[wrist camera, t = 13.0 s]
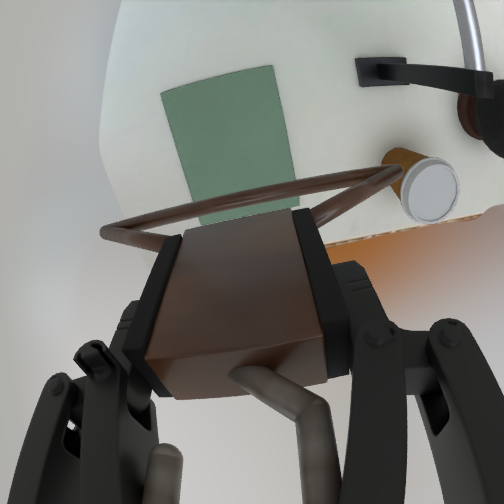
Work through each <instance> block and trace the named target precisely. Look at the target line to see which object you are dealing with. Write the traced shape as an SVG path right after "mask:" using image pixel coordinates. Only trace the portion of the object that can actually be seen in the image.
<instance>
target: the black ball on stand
mask: <svg viewBox="0 0 504 504" xmlns="http://www.w3.org/2000/svg"><path fill="white" fill-rule="evenodd" d="M493 83H494V98H480V97H474V96H470V95H466V94H462V93H460V94H459V97H458V107H457V109H458V116H459V120H460V123H461V125H462V127H463V128H464V130H465V131H466V132H467V134H469V135H470V136H471V137H473V138H476V139H478V140H483V141H484V143H485V144H486V145H487V146H488V147H489V149H490V150H491V151H493V152H494V153H495V154H496V155H498V156H499V157H501V158H504V80H496V81H493Z"/></svg>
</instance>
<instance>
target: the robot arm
mask: <svg viewBox="0 0 504 504" xmlns="http://www.w3.org/2000/svg"><path fill="white" fill-rule="evenodd" d="M292 215H293V219H294V222H295V226H296V229H297V233H298V236H299V240H300V244H301V247H302V251H303V255H304V259H305V262H306V266H307V270H308V274H309V278H310V281H311V285H312V289H313V293H314V297H315V301H316V305H317V309H318V314H319V318H320V322H321V326H322V329H323V331H324V336H325V348H326V362H327V377H328V379H330V378H335V377H339V376H344V375H349V368H350V371H351V375H352V390H351V405H350V417H349V428H348V439H347V447H346V455H345V464H344V471H343V477H342V486H341V492H340V498H339V504H404V498H405V486H406V470H407V397H406V395H415V398H416V401H417V404H418V407H419V410H420V413H421V417H422V420H423V423H424V426H425V430H426V433H427V436H428V440H429V443H430V447H431V450H432V454H433V458H434V461H435V465H436V469H437V473H438V477H439V481H440V485H441V489H442V494H443V499H444V504H504V395H503V393H502V391H501V389H500V387H499V385H498V383H497V381H496V379H495V377H494V374H493V373H492V370H491V369H490V367H489V365H488V363H487V361H486V359H485V357H484V355H483V353H482V351H481V350H480V348H479V346H478V344H477V342H476V340H475V339H474V337H473V336H472V333H471V332H470V330H469V329H468V328H467V326H466V325H465V324H464V323H462V322H460V321H459V320H456V319H451V318H446V319H441V320H439V321H437V322H435V323H434V324H433V325H432V327H431V328H430V331H410V330H404V329H401V328H399V327H398V326H397V325H396V324H394V322H392V321H390V320H389V319H388V317H387V316H386V313H385V311H384V309H383V307H382V305H381V302H380V300H379V298H378V296H377V294H376V292H375V290H374V288H373V287H372V284H371V281H370V280H369V277H368V275H367V273H366V271H365V269H364V268H363V267H362V266H361V265H360V264H358V263H357V262H356V261H354V260H353V261H348V262H343V263H338V264H333V265H331V262H330V260H329V257H328V254H327V252H326V249H325V246H324V244H323V241H322V239H321V236H320V234H319V231H318V229H317V226H316V224H315V221H314V219H313V216H312V214H311V211H310V209H309V208H304V209H298V210H293V211H292ZM181 240H182V236H181V234H178V235H174V236H170V237H166V238H165V240H164V242H163V244H162V247H161V249H160V251H159V254H158V256H157V258H156V261H155V263H154V265H153V268H152V270H151V273H150V275H149V277H148V280H147V282H146V285H145V287H144V290H143V292H142V295H141V297H140V300H136V301H132V302H131V303H130V304H129V305H128V306H127V307H126V309H125V310H124V312H123V314H122V316H121V319H120V322H119V324H118V326H117V330H116V331H115V334H114V336H113V339H112V341H111V344H110V347H109V349H108V347H107V346H106V345H105V344H104V342H103V341H100V340H92V341H90V342H88V343H85V344H84V345H83V346H82V347H80V348H79V350H78V351H77V352H76V354H75V356H74V359H73V360H74V361H75V362H76V364H77V365H78V366H79V367H80V368H81V369H82V370H83V371H84V372H85V374H86V375H87V376H84V377H81V378H77V379H74V380H72V379H71V378H70V377H69V376H68V375H67V374H66V373H62V372H61V373H56V374H55V375H53V376H52V377H51V378H50V379H49V380H48V381H47V382H46V384H45V386H44V388H43V391H42V393H41V396H40V398H39V401H38V403H37V406H36V408H35V411H34V414H33V417H32V419H31V422H30V425H29V428H28V431H27V434H26V437H25V440H24V443H23V446H22V449H21V452H20V456H19V459H18V463H17V466H16V470H15V473H14V478H13V481H12V485H11V489H10V493H9V498H8V503H7V504H142V498H143V490H144V483H145V476H146V470H147V463H148V457H149V453H150V451H151V449H152V448H153V447H154V446H156V445H158V444H159V438H158V429H157V418H156V407H155V404H154V402H153V401H152V400H151V399H150V397H151V392H152V389H153V391H154V392H155V393H156V394H157V395H158V396H159V397H173V396H172V394H171V393H170V392H169V391H168V390H167V388H166V387H165V386H164V385H163V383H162V382H161V381H160V379H159V378H158V377H157V376H156V374H155V373H154V372H153V370H152V369H151V368H150V366H149V365H148V364H147V362H146V361H145V359H144V357H145V353H146V350H147V346H148V343H149V339H150V336H151V332H152V329H153V326H154V322H155V319H156V316H157V312H158V309H159V306H160V303H161V300H162V297H163V293H164V290H165V287H166V284H167V281H168V278H169V275H170V272H171V269H172V266H173V263H174V260H175V257H176V255H177V252H178V249H179V246H180V243H181ZM69 420H70V421H71V422H72V423H73V424H75V427H74V429H73V430H71V429H70V428H68V427H67V425H68V421H69Z"/></svg>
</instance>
